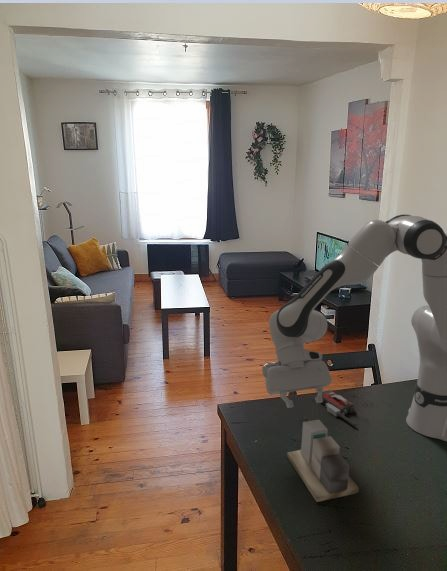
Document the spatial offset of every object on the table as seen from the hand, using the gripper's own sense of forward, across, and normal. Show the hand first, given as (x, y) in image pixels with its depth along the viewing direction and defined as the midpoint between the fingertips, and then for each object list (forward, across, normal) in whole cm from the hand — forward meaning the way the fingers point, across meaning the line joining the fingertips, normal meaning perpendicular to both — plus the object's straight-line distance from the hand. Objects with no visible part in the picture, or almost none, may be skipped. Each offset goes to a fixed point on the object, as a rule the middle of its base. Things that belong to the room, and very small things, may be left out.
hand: (305, 404), depth 122 cm
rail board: (+18, 0, +2) cm, 19 cm away
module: (+14, 0, +4) cm, 14 cm away
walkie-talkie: (0, +22, +22) cm, 31 cm away
